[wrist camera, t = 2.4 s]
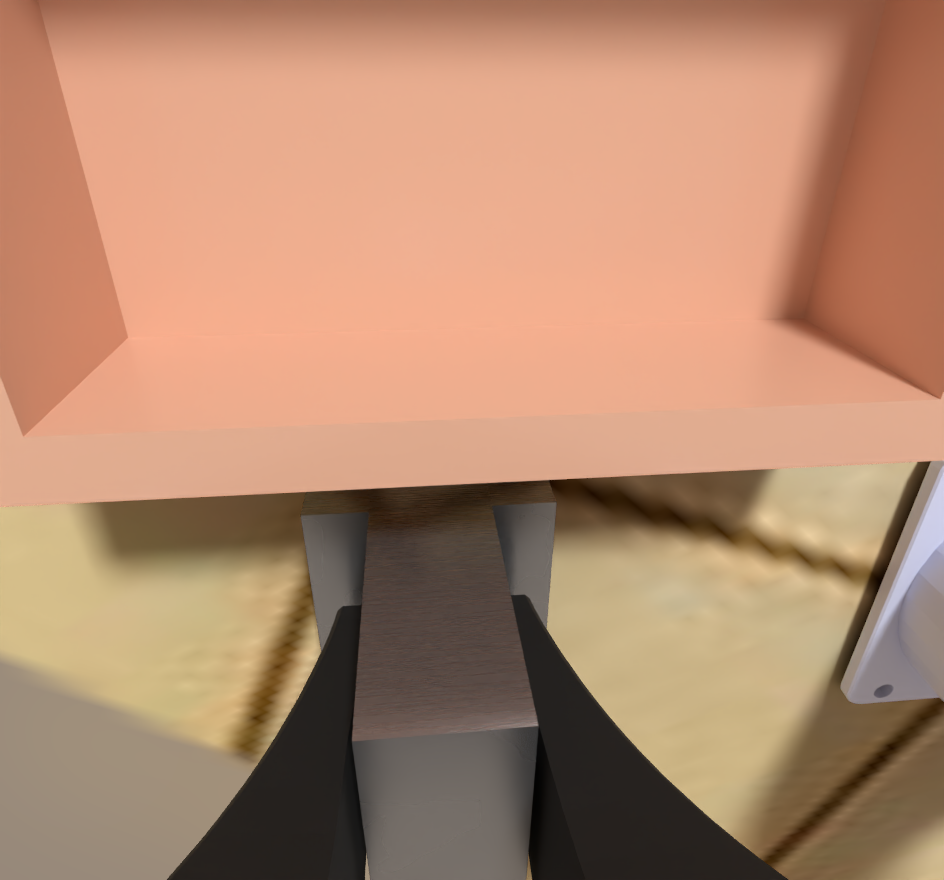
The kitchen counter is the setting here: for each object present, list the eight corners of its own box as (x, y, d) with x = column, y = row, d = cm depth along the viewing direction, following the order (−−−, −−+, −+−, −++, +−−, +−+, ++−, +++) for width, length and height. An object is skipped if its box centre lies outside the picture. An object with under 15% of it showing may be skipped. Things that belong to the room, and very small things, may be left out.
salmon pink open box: (1038, -390, 8) (1517, -742, 5) (824, 357, 13) (979, 458, 10) (-165, -475, 7) (-735, -1031, 3) (95, 382, 12) (-33, 508, 8)
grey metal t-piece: (546, 475, 14) (636, 717, 9) (534, 645, 16) (599, 914, 11) (307, 487, 13) (246, 750, 8) (331, 659, 16) (298, 947, 11)
